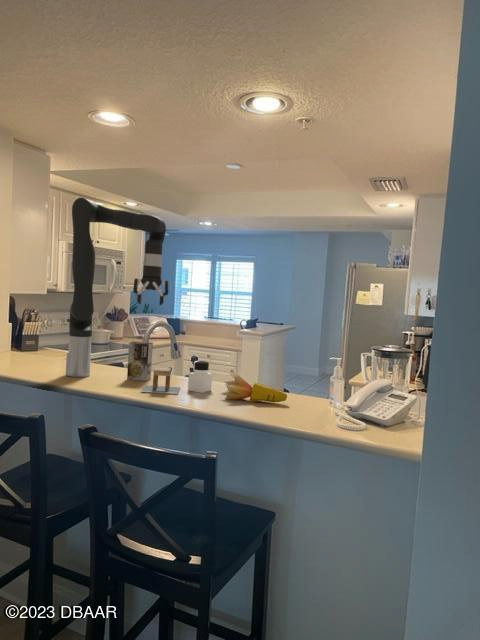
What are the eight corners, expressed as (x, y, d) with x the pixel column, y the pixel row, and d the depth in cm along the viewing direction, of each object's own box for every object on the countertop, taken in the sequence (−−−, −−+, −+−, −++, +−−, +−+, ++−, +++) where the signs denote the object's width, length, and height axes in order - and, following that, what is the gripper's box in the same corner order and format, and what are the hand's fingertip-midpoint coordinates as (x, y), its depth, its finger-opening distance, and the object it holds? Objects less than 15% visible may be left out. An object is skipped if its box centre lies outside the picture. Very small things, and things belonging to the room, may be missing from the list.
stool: (154, 387, 182) (155, 367, 181) (169, 388, 182) (170, 368, 182) (152, 390, 176) (153, 370, 175) (168, 391, 176) (169, 371, 176)
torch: (283, 415, 169) (218, 399, 172) (285, 401, 176) (223, 386, 179) (286, 398, 165) (220, 383, 168) (289, 385, 172) (225, 370, 175)
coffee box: (151, 378, 201) (153, 342, 200) (146, 381, 195) (149, 344, 194) (131, 376, 202) (133, 340, 201) (126, 379, 195) (128, 342, 195)
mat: (140, 392, 173) (140, 391, 172) (145, 386, 184) (145, 384, 184) (177, 394, 173) (177, 393, 173) (180, 388, 185) (180, 387, 185)
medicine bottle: (211, 390, 186) (213, 361, 185) (202, 393, 179) (204, 363, 178) (196, 387, 189) (198, 359, 188) (187, 390, 182) (189, 361, 181)
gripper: (170, 267, 192) (168, 305, 193) (136, 264, 191) (134, 303, 192) (168, 266, 184) (166, 306, 185) (133, 263, 184) (131, 303, 184)
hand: (150, 304), depth 189 cm, fingers open, 8 cm apart
